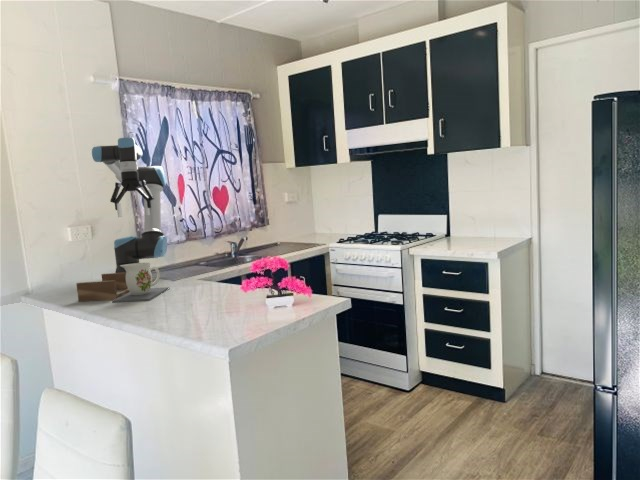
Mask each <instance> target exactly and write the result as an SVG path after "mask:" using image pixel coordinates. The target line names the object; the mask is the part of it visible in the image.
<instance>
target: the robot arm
mask: <svg viewBox="0 0 640 480" xmlns="http://www.w3.org/2000/svg"><path fill="white" fill-rule="evenodd" d="M91 156H92V157H91V158H92V159H93V161H94V162H95V163H103V164H104V165H105V166H106V167H107V168H108V169H109V170H110V171H111V173H113V174H114V175H115V178H116V180H118V182H117V181H116V182H115V183H114V185H115V187H114V190H113V193H112V195H111V198H110V203H113V204H114V208H115V211H117V217H118V218H123V214H122V213H123V212H122V204H121V201H122V198H123V197H124V196H125V194H126V193H127V192H132V191H134V192H137V193H138V194H139V195H140V196H141V197H142V198H143V199H144V200H143V202H144V204H143V205H144V206H143V212H144V213H143V215H144V217H143V218H144V222H143V223H144V225H143V227H144V229H143V230H144V231H143V232H141V234H140V235H141V237H138V236H137V235H135V234H134V235H131V236H124V237H120V238H116V239H115V240H114V242H113V250H114V257H115V265H116V266H115V267H116V268H115V271H114V273H125V272H126V270H125V269H124V268H123V267H121V266H120V265H126V264H133V263H140V260H145V259H146V260H147V259H160V258H163V257H165V256H166V254H167V249H168V238H167V236H166V235H165V234H164V232H162V223H161V222H162V221H161V220H162V219H161V218H162V217H161V216H162V213H161V211H162V210H161V208H162V207H161V193H162V192H163V191H164V187H166V186H167V179H166V174H165V171H164V168H163V167H162V166H160V165H153V166H138V161H139V160H141V158H142V157H143V150H142V149H141V147H140V146H138V145H137V144H136V140H135V138H134V137H119V138H118V139H117V144H116V145H114V144H113V145H98V146H93V147H92V148H91ZM121 187H122V189H121ZM120 189H121V191H120Z"/></svg>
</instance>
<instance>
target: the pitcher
mask: <svg viewBox="0 0 640 480" xmlns="http://www.w3.org/2000/svg"><path fill="white" fill-rule="evenodd" d="M120 266H121V267H123V268H124V269H125V270H126V284H127V287H128V289H129V291H130V293H131V294H132V295H144V294H148V292H149V291H150V289H151V288H153V286H155V285H157V284H158V282H159V281H160V276H161V275H160V274H161V273H160V270H159V268H158V267H156V266H151V263H150V262H139V263H133V264H126V265H120ZM153 270H155V272H156V279H154V281H153V274H152V272H151V271H153Z"/></svg>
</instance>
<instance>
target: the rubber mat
mask: <svg viewBox="0 0 640 480" xmlns="http://www.w3.org/2000/svg"><path fill="white" fill-rule="evenodd" d="M168 288H169V289H170V286H169V287H168V286H166V287H165V286H164V287H151V289H150V291H149V292H148V294H144V295H132V294H131V293H130V292H129V293H127V294H125V295H123V296H121V297H119V298H117V299H112V300H111V302H112V304H113V303H115V304H116V303H127V302H128V303H129V302H146V301H147V302H149V301H152V300H153V299H155V298H156V297H159V296H160V295H162V294H163V293H165V292H166V290H167V289H168ZM169 289H168V290H169ZM168 290H167V291H168ZM164 291H165V292H164ZM161 293H162V294H161Z"/></svg>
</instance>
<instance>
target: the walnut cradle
mask: <svg viewBox="0 0 640 480" xmlns="http://www.w3.org/2000/svg"><path fill="white" fill-rule="evenodd" d="M101 280H102V281H101ZM101 280H99V281H85V282H84V281H83V282H76V290H77V299H78V302H91V301H92V302H93V301H109V300H111V301H113V300H115V299H117V298H119V297H121V296H123V295H125V294H127V293H129V292H130V291H129V289H128V287H127V284H126V272H125V273H115V272H114V273H113V272H112V273H102V274H101ZM120 289H125V290H120ZM117 291H120V292H118V293H117Z"/></svg>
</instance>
